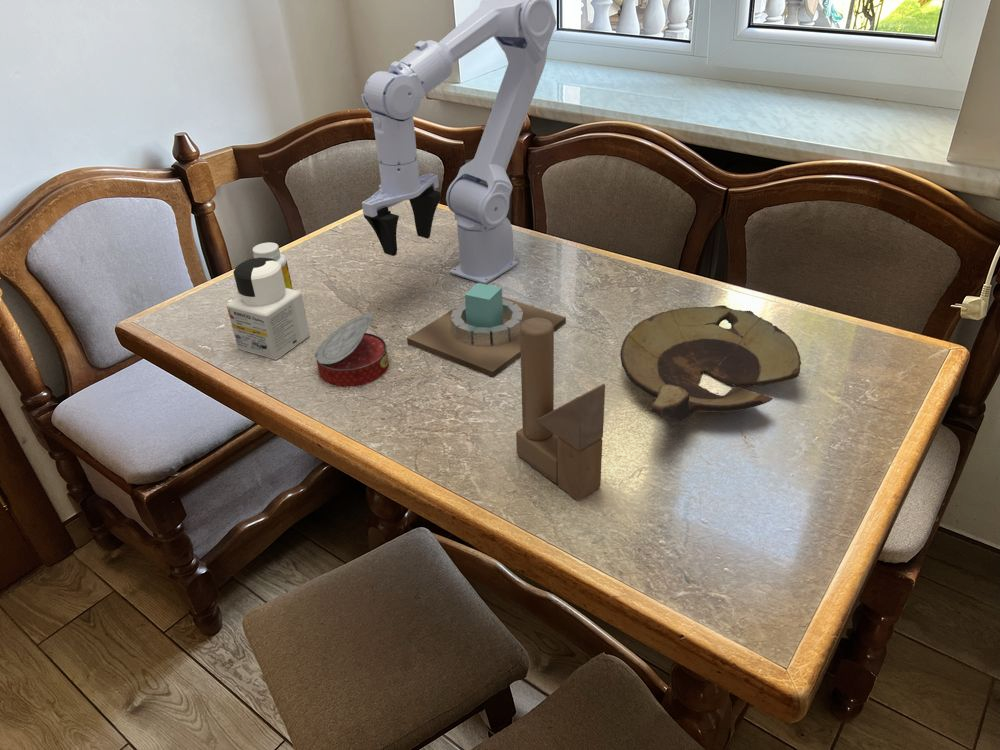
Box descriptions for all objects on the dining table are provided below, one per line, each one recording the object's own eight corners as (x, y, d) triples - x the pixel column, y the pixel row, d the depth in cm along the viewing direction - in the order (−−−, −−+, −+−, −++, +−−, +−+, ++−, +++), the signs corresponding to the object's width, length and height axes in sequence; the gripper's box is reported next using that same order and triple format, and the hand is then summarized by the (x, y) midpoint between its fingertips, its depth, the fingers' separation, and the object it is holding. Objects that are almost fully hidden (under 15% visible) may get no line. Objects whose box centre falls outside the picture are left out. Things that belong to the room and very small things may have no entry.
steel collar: (481, 304, 121) (481, 291, 120) (536, 322, 116) (536, 309, 114) (437, 332, 114) (436, 319, 113) (493, 353, 109) (493, 340, 108)
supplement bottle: (301, 305, 125) (289, 247, 119) (270, 317, 122) (256, 258, 117) (286, 294, 129) (273, 237, 123) (255, 305, 126) (241, 247, 120)
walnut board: (483, 295, 126) (483, 290, 125) (565, 323, 117) (565, 317, 117) (407, 343, 114) (406, 337, 113) (493, 377, 106) (492, 371, 105)
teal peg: (479, 318, 117) (477, 282, 114) (503, 323, 116) (501, 287, 113) (467, 330, 114) (464, 294, 111) (491, 335, 113) (489, 299, 110)
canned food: (366, 414, 108) (336, 380, 99) (317, 384, 112) (284, 349, 104) (414, 352, 111) (389, 313, 103) (364, 325, 116) (336, 287, 107)
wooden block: (578, 502, 85) (581, 365, 75) (515, 455, 92) (511, 323, 82) (602, 487, 86) (608, 351, 76) (539, 442, 94) (537, 312, 84)
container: (236, 349, 114) (215, 270, 107) (272, 325, 120) (254, 248, 113) (276, 361, 111) (257, 280, 104) (311, 336, 117) (295, 257, 110)
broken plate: (831, 381, 102) (843, 331, 98) (680, 480, 87) (687, 426, 83) (697, 319, 117) (703, 273, 113) (549, 394, 102) (549, 345, 98)
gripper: (411, 141, 120) (419, 224, 127) (342, 168, 110) (355, 255, 118) (445, 149, 116) (452, 233, 124) (377, 177, 107) (388, 266, 114)
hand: (407, 245), depth 121 cm, fingers open, 7 cm apart
